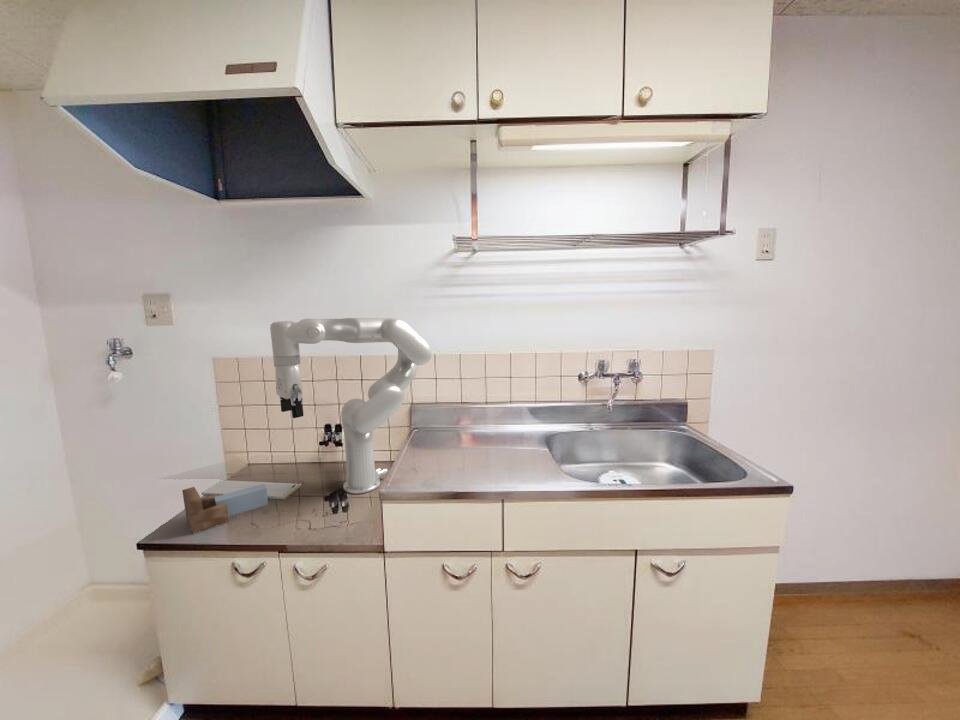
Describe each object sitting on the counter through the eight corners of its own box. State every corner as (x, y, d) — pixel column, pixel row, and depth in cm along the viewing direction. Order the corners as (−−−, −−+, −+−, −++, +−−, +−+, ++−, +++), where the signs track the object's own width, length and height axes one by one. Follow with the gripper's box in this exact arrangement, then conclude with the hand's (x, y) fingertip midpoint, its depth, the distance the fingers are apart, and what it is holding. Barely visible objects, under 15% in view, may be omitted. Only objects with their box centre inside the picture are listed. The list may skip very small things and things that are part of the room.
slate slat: (216, 514, 128) (214, 497, 127) (265, 500, 136) (264, 483, 135) (218, 520, 124) (215, 502, 123) (268, 505, 133) (266, 488, 132)
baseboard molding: (227, 480, 152) (201, 496, 140) (226, 473, 151) (200, 489, 140) (304, 484, 148) (284, 501, 136) (303, 477, 147) (284, 493, 135)
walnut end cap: (220, 509, 130) (216, 480, 129) (228, 521, 123) (224, 491, 121) (186, 520, 124) (182, 490, 123) (193, 534, 117) (188, 502, 115)
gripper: (265, 359, 130) (270, 411, 133) (284, 365, 117) (289, 422, 120) (289, 356, 135) (294, 406, 138) (310, 362, 123) (315, 416, 125)
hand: (292, 413), depth 129 cm, fingers open, 9 cm apart
